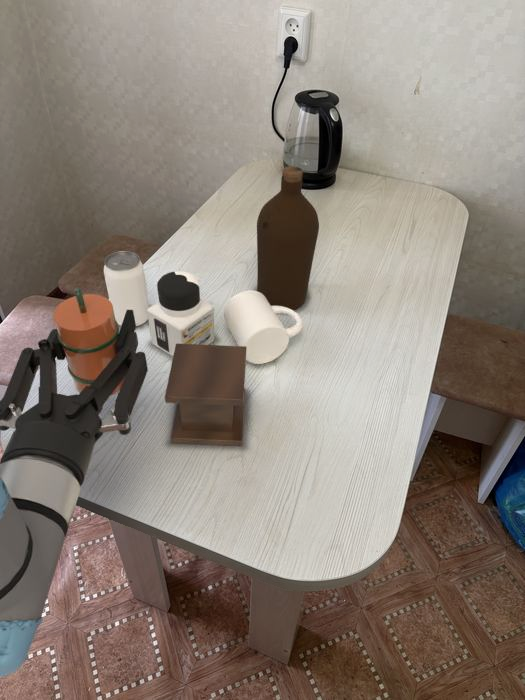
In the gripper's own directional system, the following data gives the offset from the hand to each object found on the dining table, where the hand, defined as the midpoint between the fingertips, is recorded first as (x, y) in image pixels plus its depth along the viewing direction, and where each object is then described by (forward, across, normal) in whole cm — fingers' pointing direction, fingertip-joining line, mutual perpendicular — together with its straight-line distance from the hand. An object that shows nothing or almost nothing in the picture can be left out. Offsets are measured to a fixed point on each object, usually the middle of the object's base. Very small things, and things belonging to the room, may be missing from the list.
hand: (102, 317), depth 63 cm
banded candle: (-5, 0, -6) cm, 8 cm away
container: (+15, +7, -18) cm, 24 cm away
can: (+21, -3, -18) cm, 28 cm away
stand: (-1, +13, -18) cm, 22 cm away
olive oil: (+29, +24, -18) cm, 42 cm away
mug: (+16, +21, -18) cm, 32 cm away
